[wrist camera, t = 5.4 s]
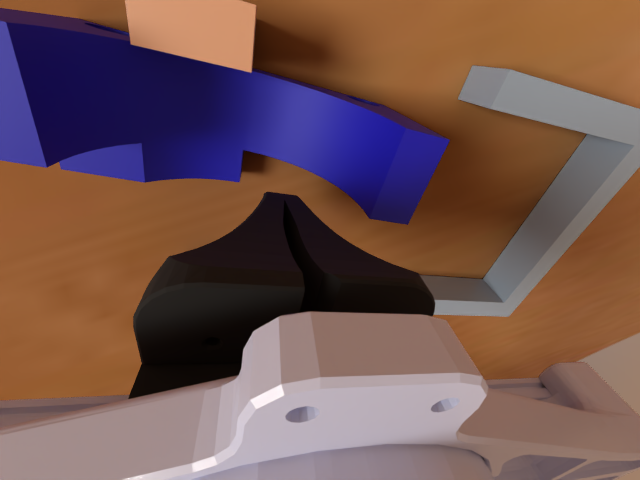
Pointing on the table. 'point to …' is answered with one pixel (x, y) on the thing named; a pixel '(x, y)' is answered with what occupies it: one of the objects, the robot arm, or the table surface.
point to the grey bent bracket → (560, 198)
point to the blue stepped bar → (193, 117)
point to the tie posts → (196, 29)
